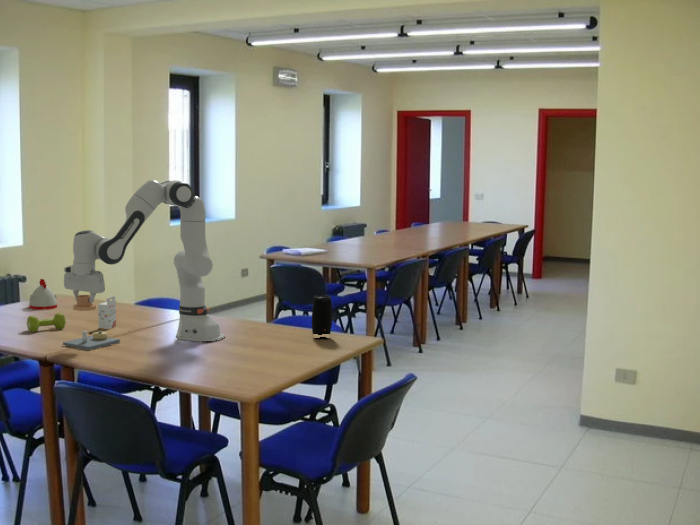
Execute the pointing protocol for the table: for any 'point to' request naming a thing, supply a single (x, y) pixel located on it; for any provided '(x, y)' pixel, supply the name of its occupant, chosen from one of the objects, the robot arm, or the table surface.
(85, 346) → the carrier plate
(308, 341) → the table surface
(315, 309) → the portable speaker
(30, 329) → the dumbbell
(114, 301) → the ink cartridge box
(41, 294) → the white and red dome
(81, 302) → the octagonal tube stub
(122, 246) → the robot arm
